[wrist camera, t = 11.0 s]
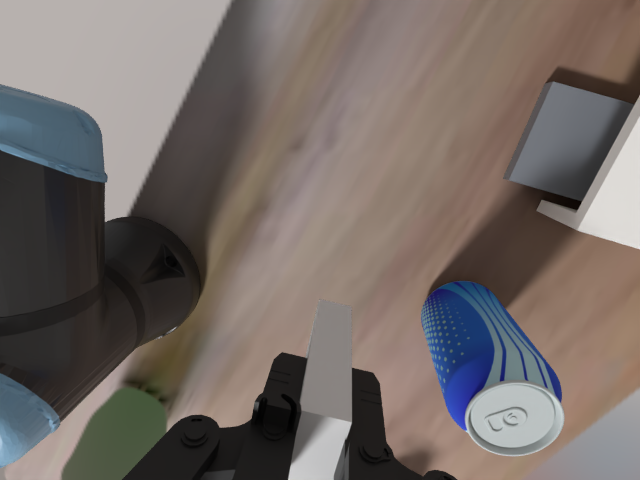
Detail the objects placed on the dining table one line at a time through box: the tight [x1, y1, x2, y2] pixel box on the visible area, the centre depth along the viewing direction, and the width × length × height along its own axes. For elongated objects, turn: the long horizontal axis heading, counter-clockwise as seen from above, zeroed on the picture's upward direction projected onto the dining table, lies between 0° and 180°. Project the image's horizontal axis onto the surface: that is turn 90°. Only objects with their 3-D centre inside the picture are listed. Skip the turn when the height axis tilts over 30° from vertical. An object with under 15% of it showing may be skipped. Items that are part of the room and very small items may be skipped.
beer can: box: [421, 281, 564, 456], centre depth 32 cm, size 8×8×16 cm
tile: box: [503, 82, 635, 201], centre depth 33 cm, size 14×9×2 cm, turn 75°
